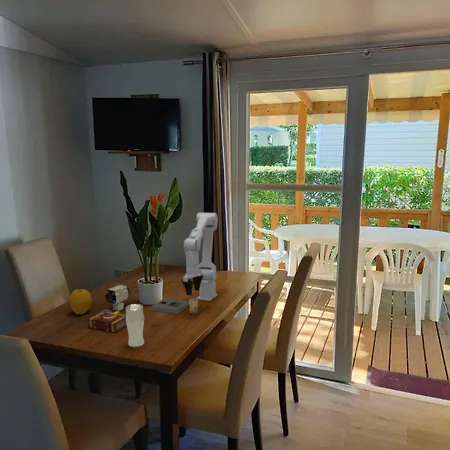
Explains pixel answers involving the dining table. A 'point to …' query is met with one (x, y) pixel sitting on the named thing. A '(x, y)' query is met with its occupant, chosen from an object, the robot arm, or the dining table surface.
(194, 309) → the brass fitting
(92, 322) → the decorative book
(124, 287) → the white security camera
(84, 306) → the apple
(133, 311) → the beer glass
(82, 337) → the dining table surface
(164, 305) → the grey plate with cutouts
